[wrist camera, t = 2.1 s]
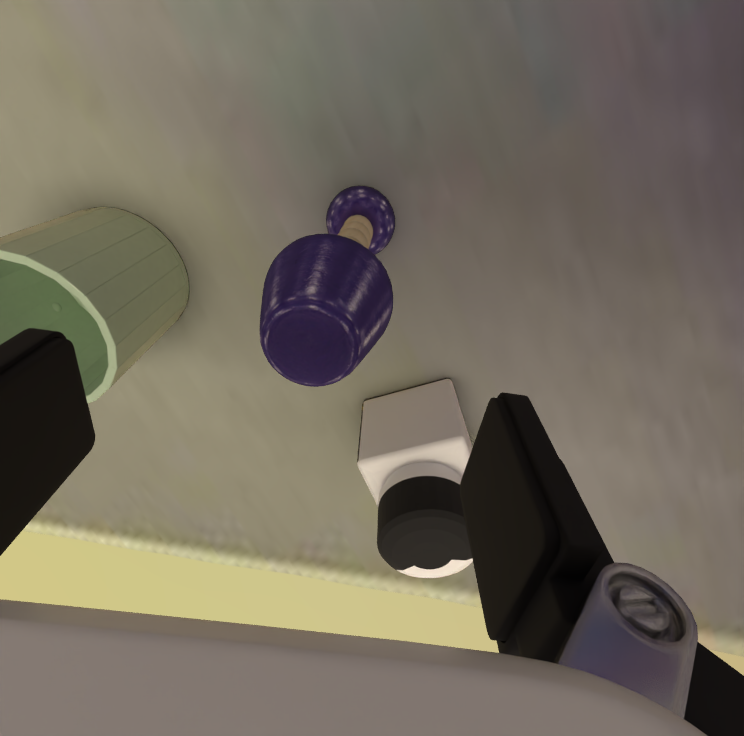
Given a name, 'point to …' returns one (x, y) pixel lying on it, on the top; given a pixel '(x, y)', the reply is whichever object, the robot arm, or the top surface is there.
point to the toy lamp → (330, 292)
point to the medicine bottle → (417, 478)
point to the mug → (93, 288)
